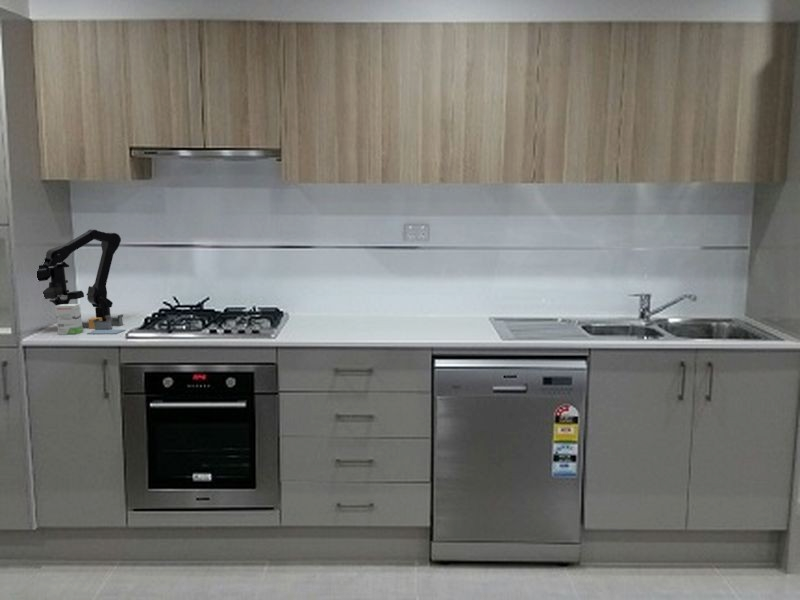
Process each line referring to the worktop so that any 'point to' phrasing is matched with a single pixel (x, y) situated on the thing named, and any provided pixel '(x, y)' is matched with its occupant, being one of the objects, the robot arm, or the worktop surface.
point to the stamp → (90, 323)
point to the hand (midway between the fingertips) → (62, 315)
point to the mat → (105, 331)
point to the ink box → (69, 319)
